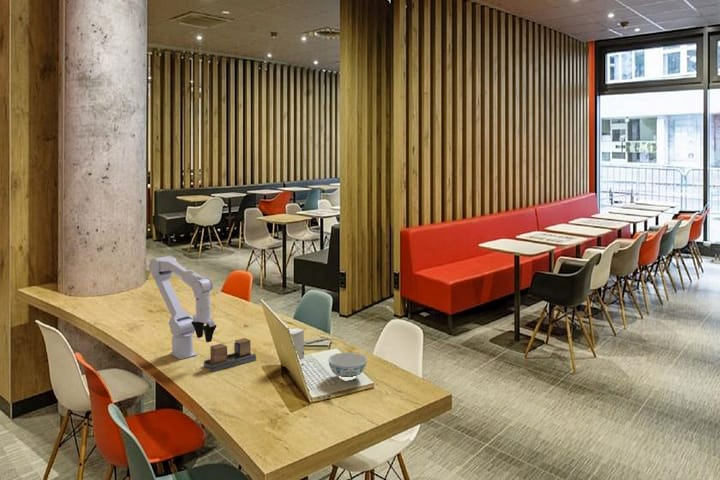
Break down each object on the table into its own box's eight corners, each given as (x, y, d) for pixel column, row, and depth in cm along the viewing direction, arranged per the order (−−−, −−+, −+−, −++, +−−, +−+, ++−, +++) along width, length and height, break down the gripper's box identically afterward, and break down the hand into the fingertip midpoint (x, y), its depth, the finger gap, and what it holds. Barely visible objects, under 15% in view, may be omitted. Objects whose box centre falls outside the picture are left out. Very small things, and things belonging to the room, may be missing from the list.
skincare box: (293, 370, 235) (292, 334, 233) (280, 367, 238) (280, 332, 236) (304, 363, 242) (304, 329, 240) (292, 361, 245) (292, 326, 243)
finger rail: (203, 366, 238) (203, 346, 237) (246, 355, 252) (245, 336, 250) (213, 371, 232) (212, 351, 231) (256, 360, 246) (256, 340, 244)
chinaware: (362, 387, 219) (362, 367, 218) (324, 383, 222) (324, 364, 221) (369, 372, 234) (370, 354, 232) (333, 369, 237) (333, 351, 235)
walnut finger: (210, 362, 238) (210, 346, 237) (222, 359, 242) (222, 343, 240) (215, 365, 235) (215, 348, 234) (227, 362, 239) (227, 345, 238)
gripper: (185, 306, 243) (187, 337, 245) (202, 313, 232) (204, 345, 234) (201, 303, 247) (202, 334, 249) (218, 309, 237) (219, 342, 239)
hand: (204, 339), depth 242 cm, fingers open, 7 cm apart
